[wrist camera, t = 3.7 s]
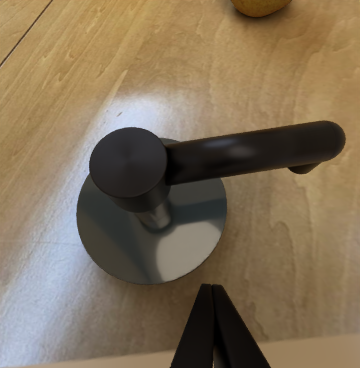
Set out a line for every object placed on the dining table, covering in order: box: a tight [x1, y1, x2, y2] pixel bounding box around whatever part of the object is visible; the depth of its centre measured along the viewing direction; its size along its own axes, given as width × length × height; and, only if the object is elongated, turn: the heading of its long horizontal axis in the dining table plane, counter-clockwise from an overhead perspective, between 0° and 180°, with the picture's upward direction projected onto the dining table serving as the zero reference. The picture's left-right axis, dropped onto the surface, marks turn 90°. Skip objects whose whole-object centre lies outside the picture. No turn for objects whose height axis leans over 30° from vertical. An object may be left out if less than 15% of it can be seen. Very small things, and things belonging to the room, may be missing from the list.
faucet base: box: [76, 138, 227, 285], centre depth 16 cm, size 12×12×6 cm
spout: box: [89, 121, 346, 213], centre depth 12 cm, size 13×4×4 cm, turn 99°
